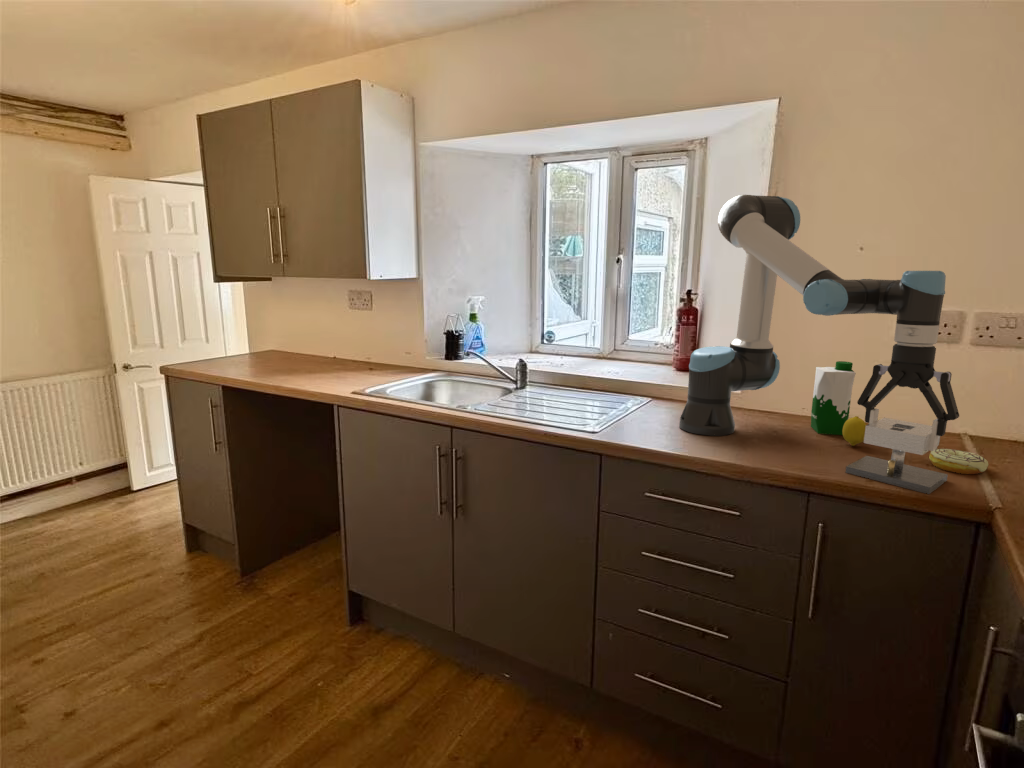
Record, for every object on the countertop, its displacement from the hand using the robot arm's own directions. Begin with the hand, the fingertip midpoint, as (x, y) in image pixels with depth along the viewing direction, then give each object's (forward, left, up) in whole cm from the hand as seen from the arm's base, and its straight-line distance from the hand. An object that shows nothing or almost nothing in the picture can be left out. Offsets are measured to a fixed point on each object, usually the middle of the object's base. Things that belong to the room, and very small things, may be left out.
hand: (900, 443), depth 124 cm
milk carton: (-25, +26, -8) cm, 37 cm away
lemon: (-15, +17, -8) cm, 24 cm away
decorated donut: (+7, +18, -8) cm, 21 cm away
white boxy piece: (0, 0, 0) cm, 0 cm away
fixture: (0, 0, -8) cm, 8 cm away
